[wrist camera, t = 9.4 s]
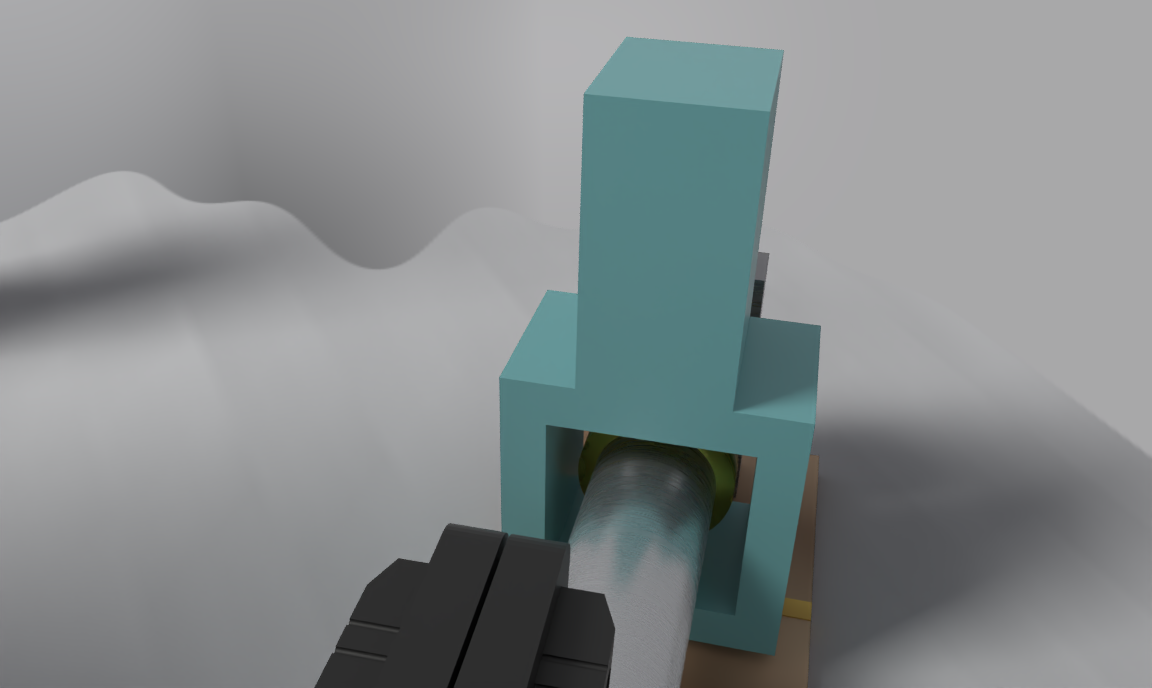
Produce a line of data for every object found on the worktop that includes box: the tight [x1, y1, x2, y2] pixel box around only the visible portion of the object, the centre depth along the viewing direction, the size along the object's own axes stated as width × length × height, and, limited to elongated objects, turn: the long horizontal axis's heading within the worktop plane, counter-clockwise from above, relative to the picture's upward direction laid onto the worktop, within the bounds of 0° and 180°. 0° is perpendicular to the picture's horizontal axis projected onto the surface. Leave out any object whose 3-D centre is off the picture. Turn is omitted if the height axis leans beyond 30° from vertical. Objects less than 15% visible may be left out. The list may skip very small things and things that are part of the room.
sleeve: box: [499, 37, 821, 656], centre depth 23 cm, size 4×6×12 cm, turn 77°
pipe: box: [568, 252, 769, 688], centre depth 21 cm, size 18×4×7 cm, turn 167°
